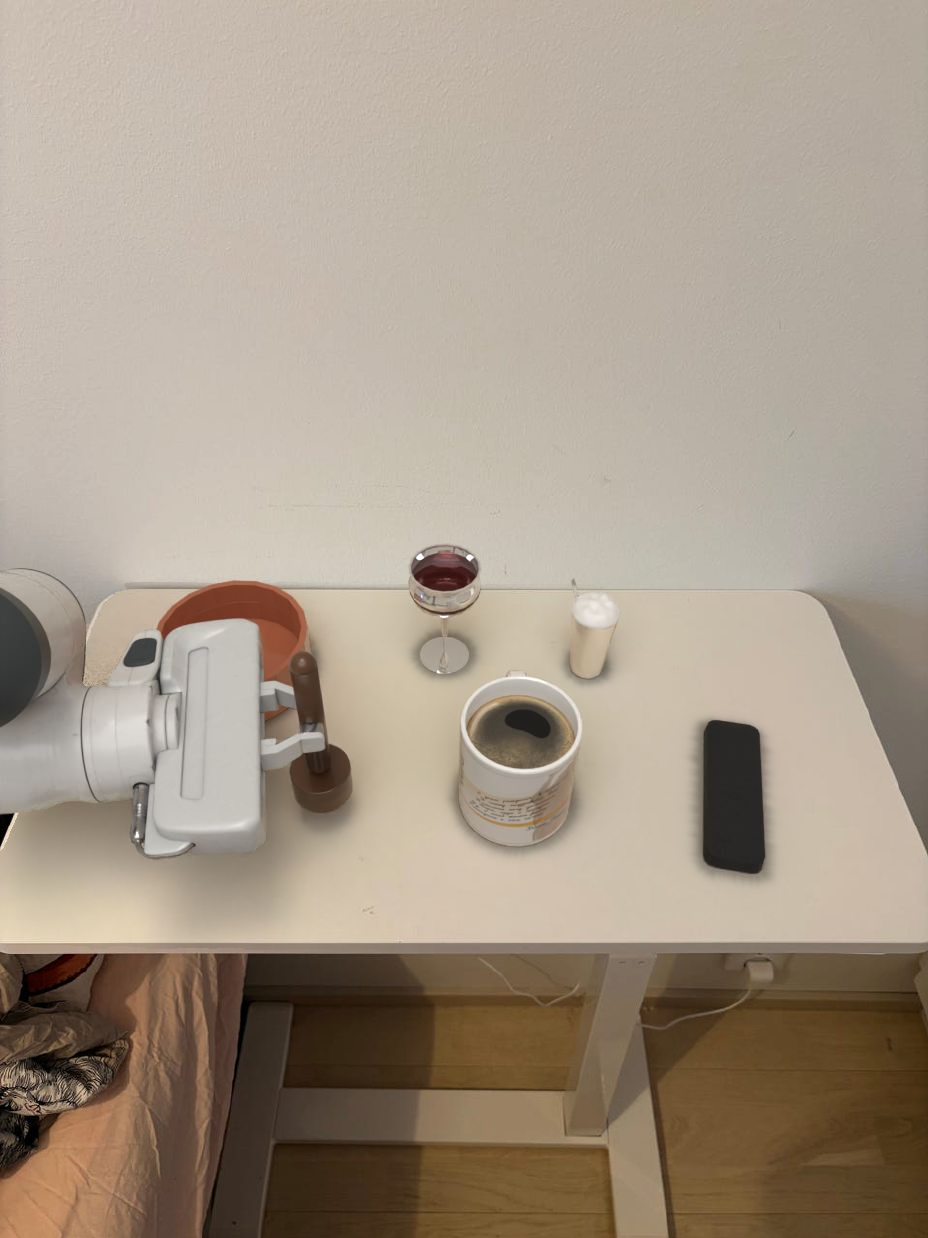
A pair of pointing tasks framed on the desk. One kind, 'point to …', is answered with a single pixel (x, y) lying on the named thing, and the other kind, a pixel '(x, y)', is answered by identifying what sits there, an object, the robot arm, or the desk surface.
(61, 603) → the robot arm
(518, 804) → the mug
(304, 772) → the brown plunger
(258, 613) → the bowl
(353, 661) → the desk surface
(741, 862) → the remote control
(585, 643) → the milkshake
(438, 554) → the wineglass
